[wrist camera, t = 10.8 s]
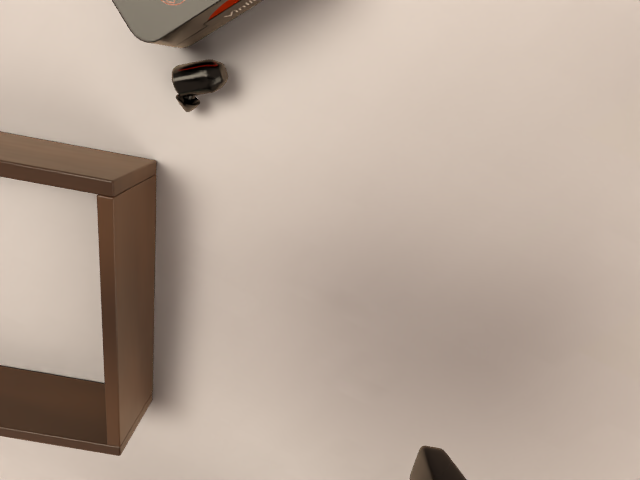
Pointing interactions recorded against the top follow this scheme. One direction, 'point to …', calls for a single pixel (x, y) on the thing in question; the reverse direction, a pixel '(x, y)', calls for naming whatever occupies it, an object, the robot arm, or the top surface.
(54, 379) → the desk tray
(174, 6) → the black dial case
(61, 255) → the top surface
